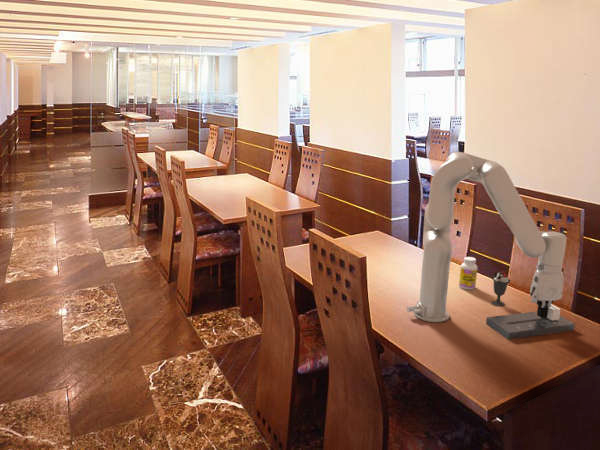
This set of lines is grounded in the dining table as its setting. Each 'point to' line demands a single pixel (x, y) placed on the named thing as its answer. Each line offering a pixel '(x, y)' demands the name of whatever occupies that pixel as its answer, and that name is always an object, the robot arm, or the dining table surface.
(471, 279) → the supplement bottle
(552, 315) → the fader
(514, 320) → the dimmer panel
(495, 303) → the sundae
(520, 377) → the dining table surface
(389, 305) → the dining table surface
